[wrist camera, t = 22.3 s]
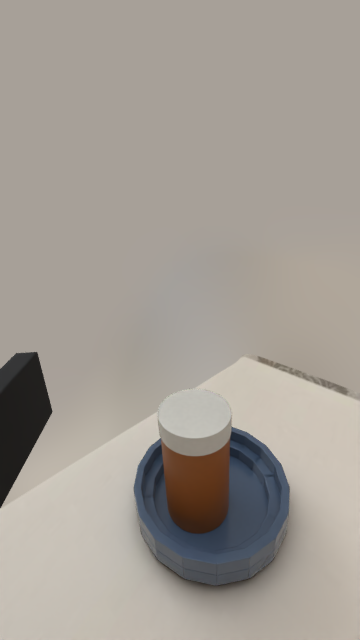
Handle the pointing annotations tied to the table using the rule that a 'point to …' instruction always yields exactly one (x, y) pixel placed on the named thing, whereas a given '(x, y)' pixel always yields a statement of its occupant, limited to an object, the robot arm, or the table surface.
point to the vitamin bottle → (196, 458)
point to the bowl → (237, 528)
